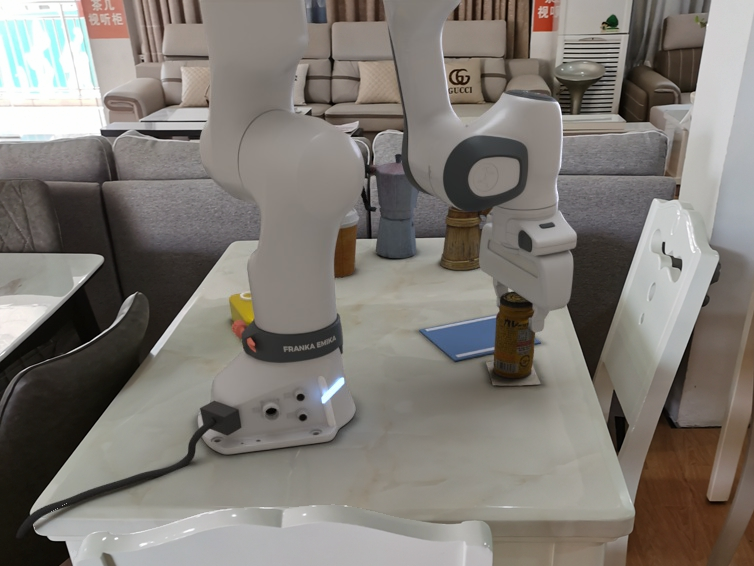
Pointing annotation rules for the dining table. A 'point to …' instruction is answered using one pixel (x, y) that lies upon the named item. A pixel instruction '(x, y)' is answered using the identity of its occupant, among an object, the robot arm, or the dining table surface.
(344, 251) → the disposable coffee cup
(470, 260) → the wooden mug
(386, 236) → the moka pot
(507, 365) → the condiment
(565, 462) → the dining table surface
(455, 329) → the napkin
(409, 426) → the dining table surface
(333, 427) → the robot arm
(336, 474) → the dining table surface
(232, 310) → the element tile
